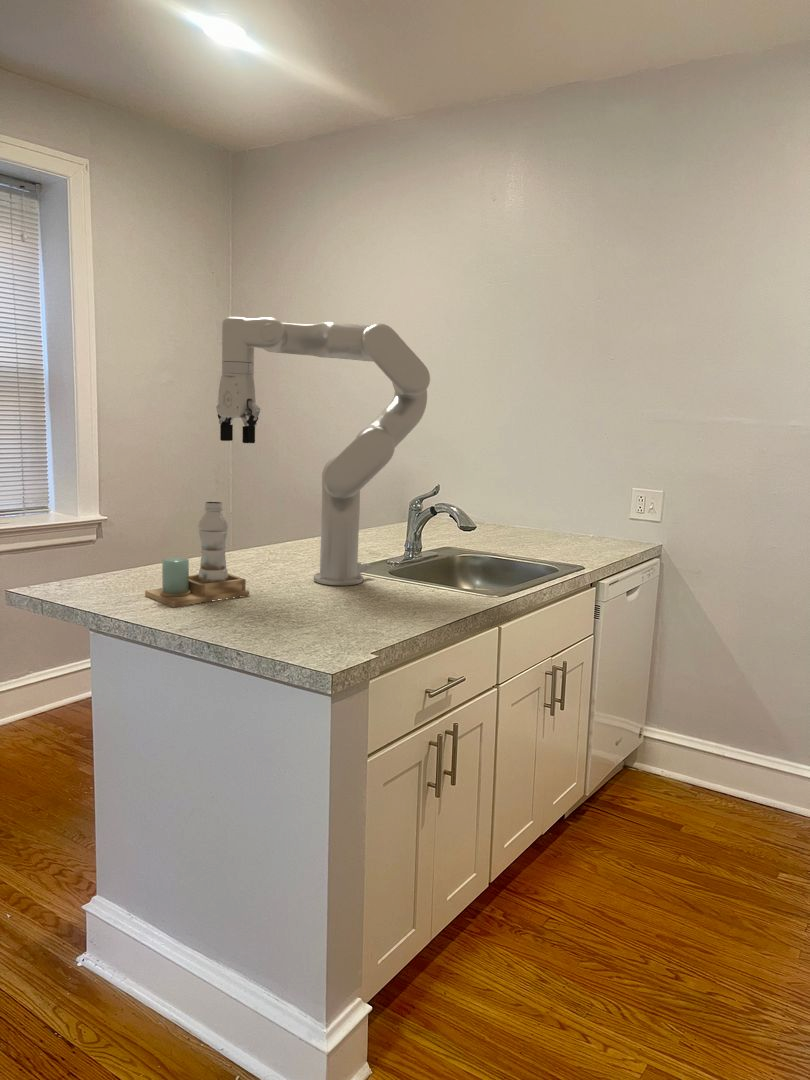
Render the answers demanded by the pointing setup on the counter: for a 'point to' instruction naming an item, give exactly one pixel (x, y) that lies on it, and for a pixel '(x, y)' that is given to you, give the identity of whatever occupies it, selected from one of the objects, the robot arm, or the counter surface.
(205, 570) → the plastic bottle
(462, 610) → the counter surface
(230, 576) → the oak caddy
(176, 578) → the sage pillar candle
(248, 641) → the counter surface
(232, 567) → the counter surface
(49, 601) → the counter surface
